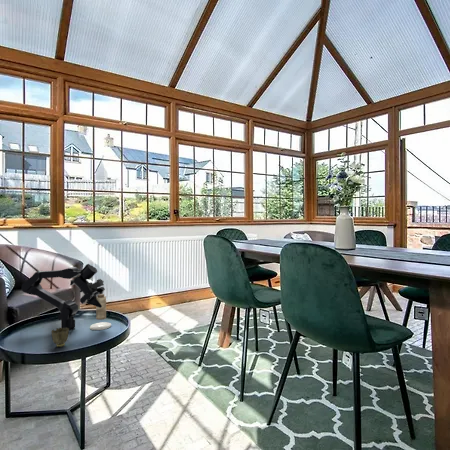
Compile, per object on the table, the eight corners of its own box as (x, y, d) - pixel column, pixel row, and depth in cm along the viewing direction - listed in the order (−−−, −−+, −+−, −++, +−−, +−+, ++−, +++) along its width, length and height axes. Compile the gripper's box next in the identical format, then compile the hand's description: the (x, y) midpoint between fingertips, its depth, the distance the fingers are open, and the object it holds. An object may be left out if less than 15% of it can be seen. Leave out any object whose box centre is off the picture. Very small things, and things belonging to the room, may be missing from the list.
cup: (63, 342, 161) (62, 326, 161) (72, 345, 158) (72, 328, 158) (48, 347, 155) (47, 330, 155) (57, 350, 151) (57, 332, 151)
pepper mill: (101, 320, 178) (101, 295, 178) (94, 319, 180) (94, 295, 180) (108, 317, 182) (108, 294, 182) (100, 316, 184) (100, 293, 184)
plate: (92, 331, 177) (91, 329, 177) (88, 326, 187) (88, 324, 187) (113, 327, 183) (113, 325, 183) (108, 322, 192) (108, 321, 192)
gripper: (85, 277, 172) (106, 299, 171) (101, 272, 190) (120, 292, 190) (70, 292, 172) (91, 314, 172) (88, 286, 191) (107, 305, 190)
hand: (103, 305), depth 181 cm, fingers closed on pepper mill, 5 cm apart
